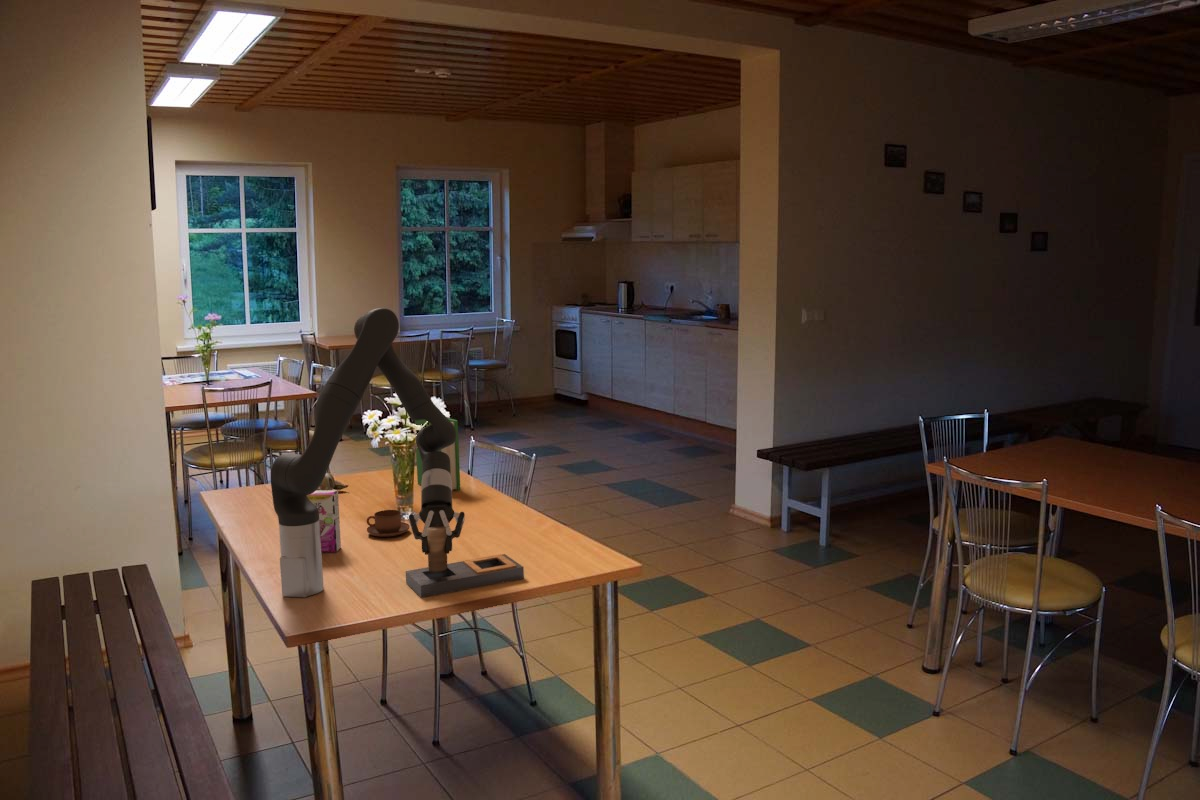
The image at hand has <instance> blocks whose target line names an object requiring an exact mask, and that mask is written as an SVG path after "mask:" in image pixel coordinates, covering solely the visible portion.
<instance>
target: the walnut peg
mask: <svg viewBox="0 0 1200 800" xmlns="http://www.w3.org/2000/svg"><path fill="white" fill-rule="evenodd" d="M427 540H428V555H427V564H428V565H427V567H428V569H429V571H433V572H439V571H444V570H446V569H447V564H448V554H446V527H444V526H431V527H428V528H427Z"/></svg>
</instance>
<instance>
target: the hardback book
mask: <svg viewBox="0 0 1200 800" xmlns="http://www.w3.org/2000/svg"><path fill="white" fill-rule="evenodd" d="M447 418H448V419H449V420H450V421H451V422H452V424H453V425H454V427H455V429H456V433H457V438H456V441H455V442H454V443H453V444H452V445H450V446H448V447H445V448H443V449H441V450H439V451H440V452H444V453H446V454H447V455H448V456H449V458H450V466H451V481H452V490H455V491H457V492H459V491H461V472H460V470H461V469H460V449H459V448H460V447H459V446H460V445H459V443H460V442H459V425H458V424H459V422H458V420H457V419H454V418H450V417H447ZM426 421H427V420H418V421H414V425H415V424H416V425H421V424H424V423H425V422H426ZM429 425H431V423H429ZM415 454H416V473H417V474H416V475H417V476H416V478H417V485H418V486H421V483H422V466H423V464H422V460H421V457H420V453H419V450H418V448H417V450H416V449H415Z"/></svg>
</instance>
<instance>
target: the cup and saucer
mask: <svg viewBox="0 0 1200 800" xmlns="http://www.w3.org/2000/svg"><path fill="white" fill-rule="evenodd" d="M401 515H402V514H401V511H400V510H397V509H385V510H379V511H376V512H374V515H370V516H368V517H367V518H366V525H368V527H367V528H366V532H367V533H368V534H369V535H371V536H373V537H378V538H379V537H380V538H388V537H389V538H390V537H398V536H400V535H403V534H405V533H406V532H408V531H409V529H410V528H411V525H410V523H406V522H402V519H401V518H402V516H401ZM371 519H373V520H374V523H370V520H371Z"/></svg>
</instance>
